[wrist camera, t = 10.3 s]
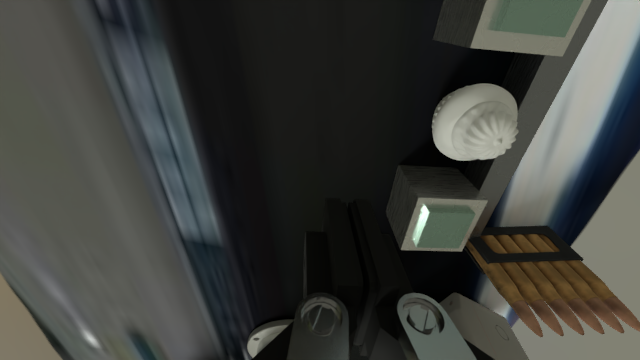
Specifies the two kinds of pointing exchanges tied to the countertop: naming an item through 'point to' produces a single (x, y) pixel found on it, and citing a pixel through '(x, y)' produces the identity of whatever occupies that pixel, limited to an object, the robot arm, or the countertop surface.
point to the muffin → (475, 122)
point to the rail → (532, 104)
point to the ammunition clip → (545, 279)
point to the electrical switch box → (483, 328)
